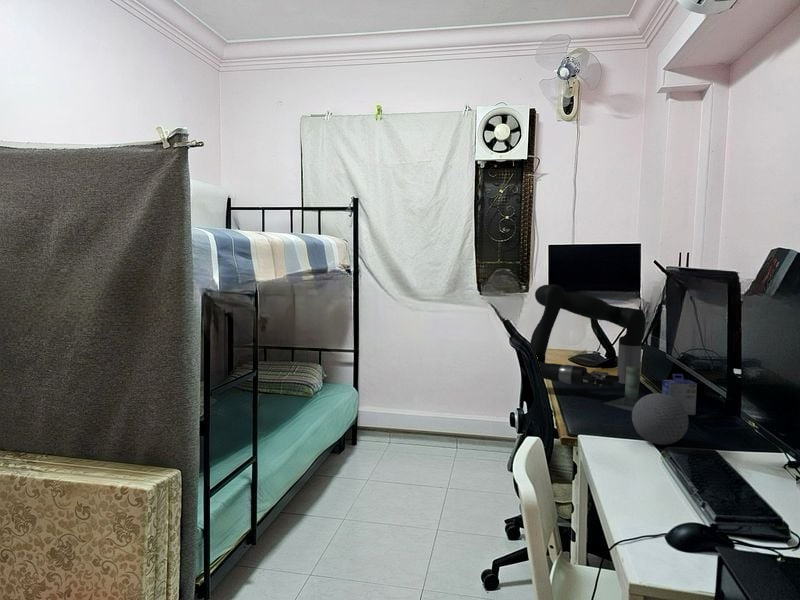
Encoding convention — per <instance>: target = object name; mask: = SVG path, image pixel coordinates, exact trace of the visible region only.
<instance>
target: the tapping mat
mask: <svg viewBox="0 0 800 600" xmlns="http://www.w3.org/2000/svg"><path fill="white" fill-rule="evenodd" d="M624 401H625V396H624V397H621V398H617V399H613V400H609V401H605V402H603V404H605V405H608V406H610V407H611V406H612V407H616V408H618V409H624V410H627V411H628V412H629V411H630V412H632V411H633V408H634V407H632V406H627V405H625V404H624Z"/></svg>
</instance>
